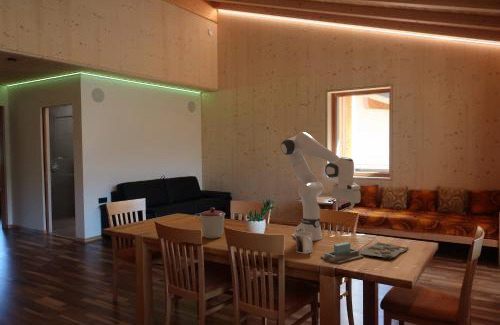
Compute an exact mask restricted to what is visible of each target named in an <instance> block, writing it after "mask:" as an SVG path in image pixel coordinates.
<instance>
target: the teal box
mask: <svg viewBox="0 0 500 325" xmlns="http://www.w3.org/2000/svg"><path fill="white" fill-rule="evenodd" d="M350 248H351V242H347V241H345V242H341V243H336V244H333V251H334V255H338V254H342V253H346V252H350Z"/></svg>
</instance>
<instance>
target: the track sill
mask: <svg viewBox="0 0 500 325" xmlns="http://www.w3.org/2000/svg"><path fill="white" fill-rule="evenodd" d="M359 251H360V250H358V249H356V248H352V247H350V252H346V253H342V254H338V255H334V250H333V251H329V252H324V255H320V259H322V260H325V261H327V260H328V261H327V262H330V261H331V263H333V262H334V264H337V265H343V264H345V263H349V262H353V261H357V260H361V259H364V258H365V256H364V255H360V254H359Z"/></svg>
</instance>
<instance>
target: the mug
mask: <svg viewBox="0 0 500 325" xmlns="http://www.w3.org/2000/svg"><path fill="white" fill-rule="evenodd" d="M313 245H314V244H313V241H312V233H311V232H297V233H296V238H295V251H296V253H299V254H311V253H312V252H313V248H314V246H313Z"/></svg>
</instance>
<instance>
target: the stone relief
mask: <svg viewBox="0 0 500 325" xmlns="http://www.w3.org/2000/svg"><path fill="white" fill-rule="evenodd" d="M408 249H410V247H409V246H408V247H407V246H400V245H397V244H392V243H386V242H385V243H384V242H380V241H377V242H375V243H374V244H372V245H370V246H366V247H365V248H363V249H361V250H359V255H361V256H364V255H366V256H371V257H374V256H375V257H378V258H379V257H380V258H381V259H385V260H389V261H391V260H392V259H393V258H396V256H397V257H398V255H399V254H400V253H403V252H405V251H407V250H408Z"/></svg>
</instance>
